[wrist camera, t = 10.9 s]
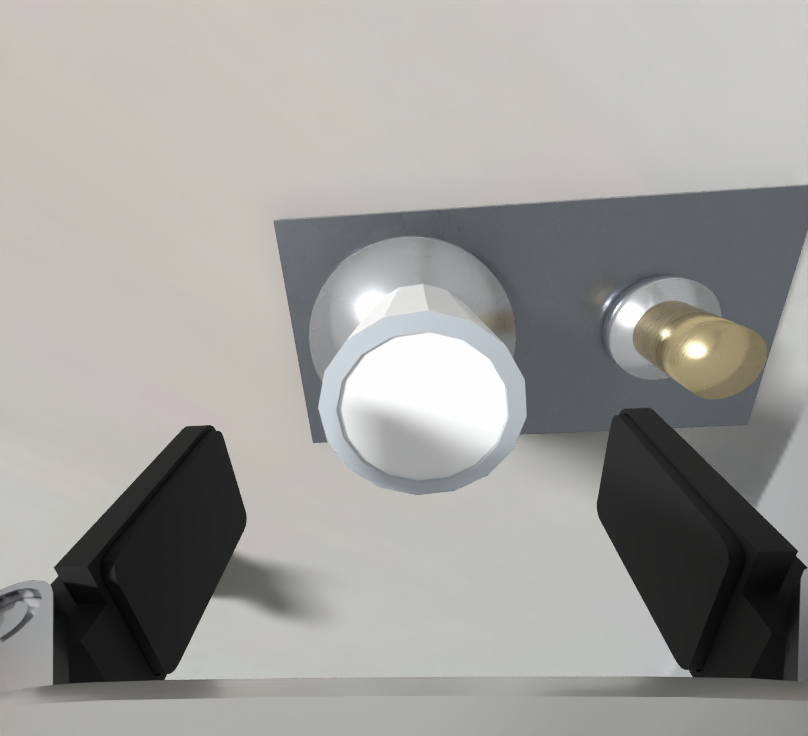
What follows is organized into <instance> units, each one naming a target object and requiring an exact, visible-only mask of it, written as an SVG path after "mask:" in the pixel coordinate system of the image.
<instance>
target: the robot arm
mask: <svg viewBox="0 0 808 736" xmlns="http://www.w3.org/2000/svg"><path fill="white" fill-rule="evenodd" d="M597 512H598V516H599V519H600V521H601V523H602V525H603V526H604V528H605V530H606V532H607V534H608V536H609V538H610V539H611V541H612V543H613V545H614V547H615V549H616V551H617V552H618V554H619V556H620V558H621V560H622V562H623V564H624V565H625V567H626V569H627V571H628V573H629V575H630V577H631V578H632V580H633V582H634V584H635V586H636V588H637V590H638V591H639V593H640V595H641V597H642V599H643V601H644V603H645V604H646V606H647V608H648V610H649V612H650V614H651V616H652V617H653V619H654V621H655V623H656V625H657V627H658V629H659V630H660V632H661V634H662V636H663V638H664V640H665V642H666V643H667V645H668V647H669V649H670V651H671V653H672V655H673V656H674V658H675V660H676V662H677V663H678V664H679V666H680V667H681V668H683V669H685V670H689V671H690V673H691V675H692V676H693V677H391V678H285V679H210V680H164V679H165V677H166V675H167V674H170V673H172V672H173V671H174V670H175V669H176V667H177V666H178V664H179V662H180V660H181V658H182V656H183V654H184V652H185V650H186V648H187V646H188V644H189V642H190V640H191V637H192V635H193V633H194V631H195V629H196V627H197V625H198V623H199V621H200V619H201V617H202V615H203V613H204V611H205V609H206V607H207V605H208V603H209V601H210V599H211V597H212V595H213V593H214V590H215V588H216V586H217V584H218V582H219V580H220V578H221V576H222V574H223V572H224V570H225V568H226V566H227V564H228V562H229V560H230V558H231V556H232V554H233V552H234V550H235V548H236V546H237V543H238V541H239V539H240V537H241V535H242V533H243V531H244V529H245V526H246V520H247V518H246V511H245V508H244V505H243V501H242V498H241V495H240V491H239V488H238V485H237V481H236V478H235V475H234V471H233V468H232V465H231V461H230V458H229V455H228V451H227V448H226V445H225V441H224V438H223V435H222V433H221V432H220V431H216V430H215V428H214V427H213V426H211V425H206V426H187V427H185V428H184V429H182V430H181V432H180V433H179V434H178V435H177V436H176V437H175V438H174V439H173V440H172V441H171V442H170V443H169V444H168V446H167V447H166V448H165V449H164V450H163V451H162V452H161V453H160V454H159V455H158V456H157V457H156V458H155V459H154V461H153V462H152V463H151V464H150V465H149V466H148V467H147V468H146V469H145V470H144V471H143V472H142V473H141V475H140V476H139V477H138V478H137V479H136V480H135V481H134V482H133V483H132V484H131V485H130V486H129V487H128V488H127V490H126V491H125V492H124V493H123V494H122V495H121V496H120V497H119V498H118V499H117V500H116V501H115V502H114V504H113V505H112V506H111V507H110V508H109V509H108V510H107V511H106V512H105V513H104V514H103V515H102V516H101V517H100V519H99V520H98V521H97V522H96V523H95V524H94V525H93V526H92V527H91V528H90V529H89V530H88V531H87V533H86V534H85V535H84V536H83V537H82V538H81V539H80V540H79V541H78V542H77V543H76V544H75V545H74V546H73V548H72V549H71V550H70V551H69V552H68V553H67V554H66V555H65V556H64V557H63V558H62V559H61V560H60V562H59V563H58V564H57V565H56V566H55V567H54V569H55V570H56V572H57V574H58V575H59V576H58V577H57V578H56V579H55V581H54V582H53V583H52V584H51V585H50V584H48V583H46V582H44V581H37V580H31V581H26V582H21V583H17V584H14V585H11V586H9V587H6V588H4V589H1V590H0V736H808V568H807V567H806V566H805V565H804V564H803V563H802V562H801V561H800V560H799V559H798V558H797V557H796V554H797V552H798V551H797V550H796V549H795V548H794V547H793V546H792V545H791V544H790V543H789V542H788V541H787V540H786V539H785V538H784V537H783V536H782V535H781V534H780V533H779V532H778V531H777V530H776V529H775V528H774V527H773V526H772V525H771V524H770V523H769V522H768V521H767V520H766V519H764V517H763V516H762V515H761V514H760V513H759V512H758V511H756V510H755V509H754V508H753V507H752V506H751V505H750V504H749V503H748V502H747V501H746V500H745V499H744V498H743V497H742V496H741V495H740V494H739V493H738V492H737V491H736V490H735V489H734V488H733V487H732V486H731V485H730V484H729V483H728V482H727V481H726V480H725V479H724V478H723V477H722V476H721V475H720V474H719V473H718V472H717V471H716V470H714V469H713V468H712V467H711V466H710V465H709V464H708V463H707V462H706V461H705V460H704V459H703V458H702V457H701V456H700V455H699V454H698V453H697V452H696V451H695V450H694V449H693V448H692V447H691V446H690V445H689V444H688V443H687V442H686V441H685V440H684V439H683V438H682V437H681V436H680V435H679V434H678V433H677V432H676V431H675V430H673V429H672V428H671V427H670V426H669V425H668V424H667V423H666V422H665V421H664V420H663V419H662V418H661V417H660V416H659V415H658V414H657V413H656V412H655V411H654V410H653V409H651V408H629V409H622V410H621V411H620V413H619V415H615V416H613V418H612V421H611V426H610V432H609V438H608V443H607V449H606V455H605V461H604V466H603V472H602V478H601V483H600V489H599V495H598V500H597Z"/></svg>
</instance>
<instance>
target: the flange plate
mask: <svg viewBox="0 0 808 736" xmlns="http://www.w3.org/2000/svg"><path fill="white" fill-rule="evenodd" d="M274 226H275V232H276V238H277V243H278V249H279V254H280V260H281V266H282V271H283V277H284V282H285V288H286V294H287V299H288V305H289V311H290V316H291V322H292V327H293V333H294V339H295V344H296V350H297V355H298V361H299V367H300V372H301V378H302V384H303V389H304V395H305V400H306V406H307V412H308V417H309V423H310V428H311V434H312V440H313V443H322V442H327V438H326V434H325V431H324V427H323V424H322V420H321V416H320V413H319V409H318V405H319V400H320V394H321V388H322V382H323V377H324V371H325V370H326V369H327V367H328V366H329V364H330V363H331V361H332V360H333V359H334V357H335V356H336V354H337V353H338V352H339V350H340V349H341V347H342V346H343V344H344V343H345V342H346V340H347V339H348V338H349V336H350V335H351V334H352V333H353V331H354V330H355V329H356V328H357V326H358V325H359V324H360V323H361V321H362V320H363V319H364V318H365V316H366V315H367V314H368V313H369V311H370V310H371V309H372V308H373V307H374V305H375V304H376V303H377V302H378V300H379V299H381V298H383V297H384V296H386V295H388V294H389V293H391V292H392V291H394V290H396V289H397V288H399V287H406V286H412V285H419V284H425V285H429V286H434V287H438V288H442V289H446V290H447V291H449V292H450V293H451V294H453V295H454V296H455V297H457V298H458V299H459V300H461V301H462V302H463V303H465V304H466V305H467V306H468V307H469V308H470V309H471V310H472V312H473V313H474V314H475V315H476V316H477V317H478V318H479V319H480V320H481V321H482V322H483V323H484V324H485V325H486V326H487V327H488V328H489V329H490V330H491V331H492V332H493V333H494V334H495V335H496V336H497V337H498V338H499V339H500V340H501V341H502V342H503V343H504V344H505V345H506V347H507V348H508V350H509V352H510V354H511V356H512V357H513V359H514V361H515V363H516V365H517V367H518V368H519V370H520V372H521V374H522V376H523V377H524V379H525V393H526V413H527V417H526V419H525V422H524V424H523V427H522V429H521V432H520V434H538V433H562V432H586V431H610V426H611V421H612V418H613V416H615V415H619V413H620V411H621V410H622V409H629V408H651V409H653V410H654V411H655V412H656V413H657V414H658V415H659V416H660V417H661V418H662V419H663V420H664V421H665V422H666V423H667V424H668V425H669V426H670V427H671V428H682V427H706V426H730V425H747V423H748V420H749V417H750V414H751V410H752V407H753V404H754V401H755V398H756V394H757V391H758V388H759V385H760V381H761V378H762V375H763V372H764V368H765V365H766V362H767V359H768V356H769V352H770V349H771V346H772V343H773V339H774V336H775V333H776V330H777V327H778V323H779V320H780V317H781V314H782V310H783V307H784V304H785V301H786V298H787V294H788V291H789V288H790V285H791V281H792V278H793V275H794V272H795V268H796V265H797V262H798V259H799V256H800V252H801V249H802V246H803V243H804V239H805V236H806V233H807V230H808V185H791V186H776V187H761V188H746V189H731V190H716V191H701V192H686V193H671V194H656V195H641V196H626V197H611V198H596V199H581V200H566V201H551V202H536V203H521V204H506V205H491V206H476V207H461V208H446V209H431V210H416V211H401V212H386V213H371V214H356V215H341V216H326V217H311V218H296V219H281V220H275V221H274Z"/></svg>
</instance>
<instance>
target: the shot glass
mask: <svg viewBox="0 0 808 736" xmlns="http://www.w3.org/2000/svg"><path fill="white" fill-rule="evenodd" d="M318 409H319V413H320V416H321V420H322V424H323V427H324V431H325V434H326V438H327V442H328V443H329V444H330V445H331V447H332V448H333V449H334V450H335V452H336V453H337V454H338V455H339V457H340V458H341V459H342V460H343V462H344V463H345V464H346V465H347V467H348V468H349V469H350V470H352V471H353V472H355V473H357V474H359V475H360V476H362V477H364V478H365V479H367V480H369V481H370V482H372V483H374V484H376V485H377V486H379V487H381V488H385V489H390V490H395V491H400V492H405V493H410V494H414V495H422V494H431V493H440V492H448V491H455V490H457V489H459V488H461V487H463V486H466V485H468V484H470V483H472V482H474V481H476V480H478V479H481V478H483V477H485V476H487V475H488V474H489V473H490V472H491V471H492V470H493V469H494V468H495V467H496V466H497V465H498V464H499V463H500V462H501V461H502V460H503V459H504V458H505V457H506V456H507V455H508V454H509V453H510V452H511V451H512V450H513V449H514V446H515V444H516V441H517V439H518V436H519V434H520V432H521V429H522V427H523V424H524V422H525V419H526V417H527V413H526V393H525V379H524V377H523V376H522V374H521V372H520V370H519V368H518V367H517V365H516V363H515V361H514V359H513V357H512V356H511V354H510V352H509V350H508V348H507V347H506V345H505V344H504V343H503V342H502V341H501V340H500V339H499V338H498V337H497V336H496V335H495V334H494V333H493V332H492V331H491V330H490V329H489V328H488V327H487V326H486V325H485V324H484V323H483V322H482V321H481V320H480V319H479V318H478V317H477V316H476V315H475V314H474V313H473V312H472V310H471V309H470V308H469V307H468V306H467V305H466V304H465V303H463V302H462V301H461V300H459V299H458V298H457V297H455V296H454V295H453V294H451V293H450V292H449V291H447V290H446V289H442V288H438V287H434V286H429V285H425V284H419V285H412V286H406V287H399V288H397V289H396V290H394V291H392V292H391V293H389V294H388V295H386V296H384V297H383V298H381V299H379V300H378V302H377V303H376V304H375V305H374V307H373V308H372V309H371V310H370V311H369V313H368V314H367V315H366V316H365V318H364V319H363V320H362V321H361V323H360V324H359V325H358V326H357V328H356V329H355V330H354V331H353V333H352V334H351V335H350V336H349V338H348V339H347V340H346V342H345V343H344V344H343V346H342V347H341V349H340V350H339V352H338V353H337V354H336V356H335V357H334V359H333V360H332V361H331V363H330V364H329V366H328V367H327V369H326V370H325V371H324V377H323V382H322V388H321V394H320V400H319V405H318Z"/></svg>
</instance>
